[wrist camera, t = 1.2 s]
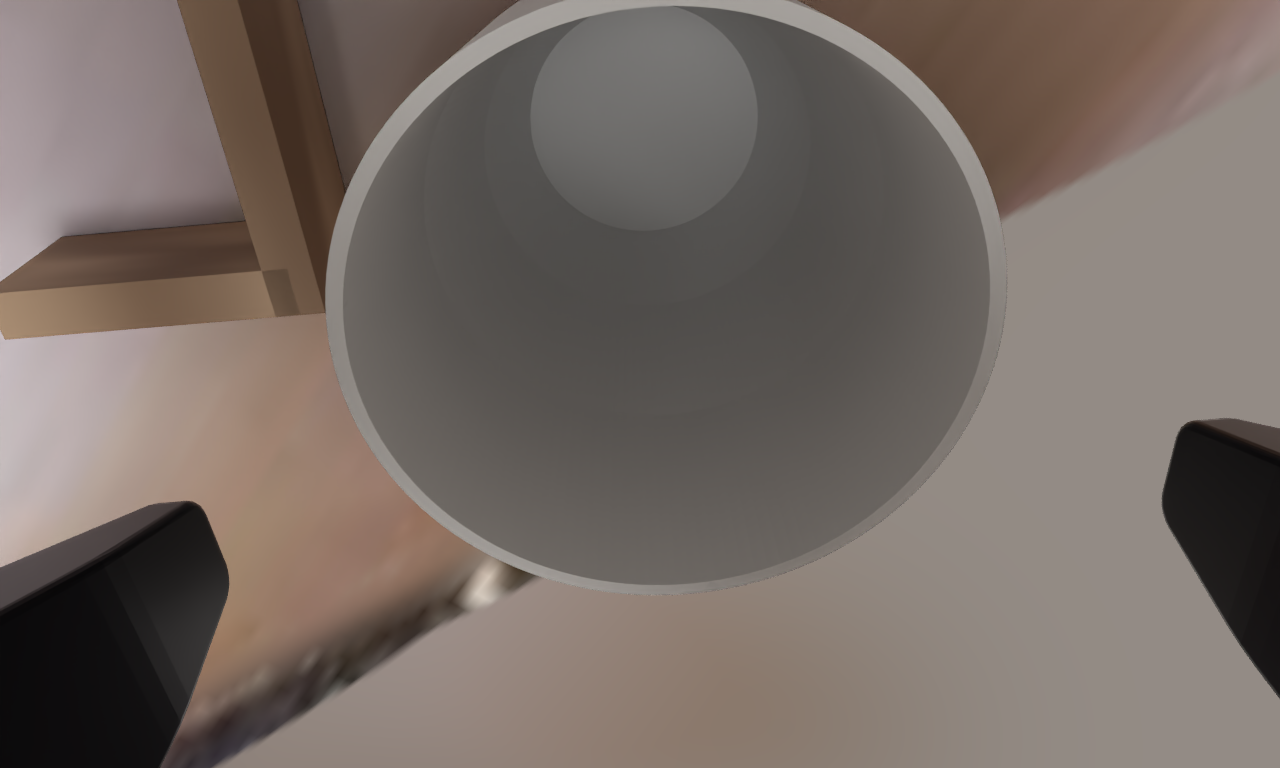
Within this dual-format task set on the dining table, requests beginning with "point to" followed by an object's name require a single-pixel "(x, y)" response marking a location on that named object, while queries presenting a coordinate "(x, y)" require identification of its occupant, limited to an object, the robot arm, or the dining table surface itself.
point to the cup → (665, 290)
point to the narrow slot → (215, 253)
